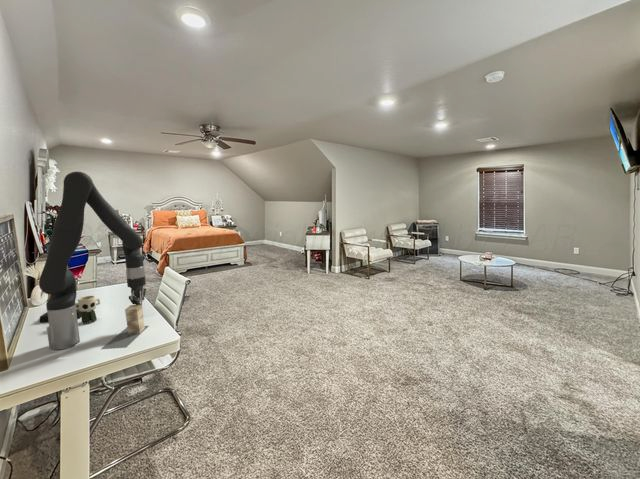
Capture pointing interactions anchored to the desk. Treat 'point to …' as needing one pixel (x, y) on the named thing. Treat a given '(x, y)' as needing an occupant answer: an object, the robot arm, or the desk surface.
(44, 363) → the desk surface
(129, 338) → the rubber mat
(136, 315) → the birch block
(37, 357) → the desk surface
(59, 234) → the robot arm
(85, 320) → the character mug
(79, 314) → the portable cd player
